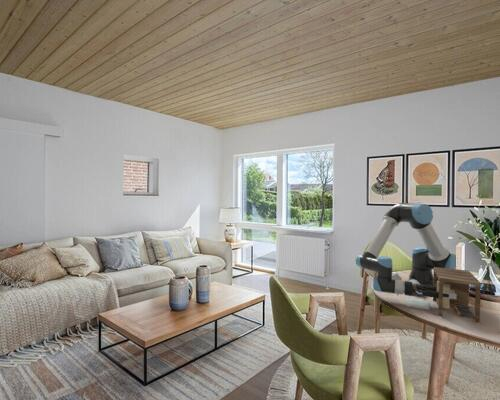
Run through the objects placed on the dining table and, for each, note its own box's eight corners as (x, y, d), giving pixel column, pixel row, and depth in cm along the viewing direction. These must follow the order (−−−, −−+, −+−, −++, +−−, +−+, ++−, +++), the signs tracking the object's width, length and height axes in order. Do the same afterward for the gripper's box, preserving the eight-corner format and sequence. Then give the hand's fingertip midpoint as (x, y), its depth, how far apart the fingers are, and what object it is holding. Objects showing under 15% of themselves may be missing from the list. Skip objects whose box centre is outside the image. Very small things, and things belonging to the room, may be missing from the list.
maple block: (436, 303, 157) (437, 280, 157) (447, 304, 155) (448, 282, 155) (437, 306, 152) (438, 283, 152) (449, 308, 150) (449, 284, 150)
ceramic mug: (407, 294, 175) (408, 281, 175) (406, 290, 183) (406, 278, 182) (427, 297, 171) (428, 284, 171) (425, 292, 179) (426, 280, 179)
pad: (405, 299, 167) (405, 298, 167) (427, 302, 162) (427, 301, 162) (405, 305, 157) (405, 305, 157) (429, 309, 152) (429, 309, 152)
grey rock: (400, 288, 189) (405, 274, 192) (387, 280, 191) (393, 267, 194) (394, 288, 197) (399, 276, 200) (382, 281, 198) (387, 269, 201)
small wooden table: (432, 299, 166) (433, 267, 166) (467, 304, 159) (468, 270, 159) (438, 316, 144) (439, 278, 144) (479, 322, 137) (480, 282, 136)
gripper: (403, 290, 170) (452, 296, 159) (404, 299, 153) (458, 308, 143) (403, 276, 169) (452, 282, 159) (404, 285, 153) (459, 292, 143)
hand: (455, 294), depth 151 cm, fingers closed on maple block, 5 cm apart
